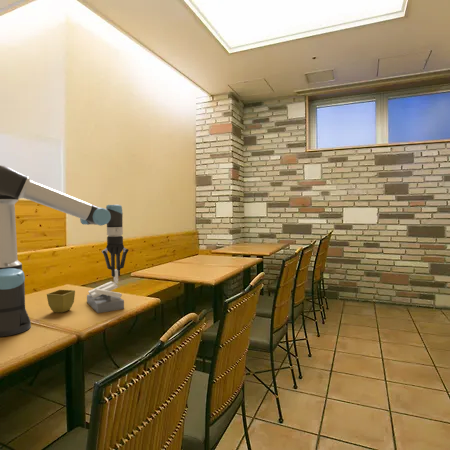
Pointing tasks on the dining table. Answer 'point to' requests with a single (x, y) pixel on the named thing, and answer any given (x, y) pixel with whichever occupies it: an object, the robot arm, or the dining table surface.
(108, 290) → the bar
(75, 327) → the dining table surface
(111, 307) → the switch panel
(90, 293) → the bar
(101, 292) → the bar
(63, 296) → the flower pot
